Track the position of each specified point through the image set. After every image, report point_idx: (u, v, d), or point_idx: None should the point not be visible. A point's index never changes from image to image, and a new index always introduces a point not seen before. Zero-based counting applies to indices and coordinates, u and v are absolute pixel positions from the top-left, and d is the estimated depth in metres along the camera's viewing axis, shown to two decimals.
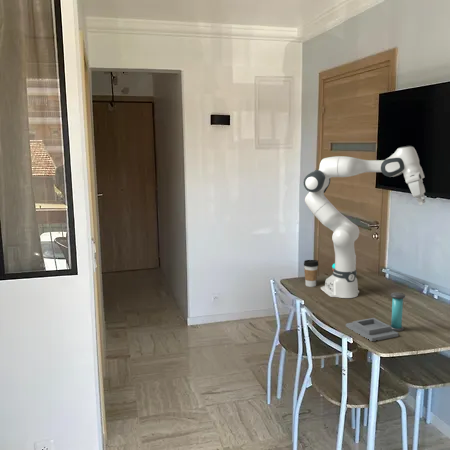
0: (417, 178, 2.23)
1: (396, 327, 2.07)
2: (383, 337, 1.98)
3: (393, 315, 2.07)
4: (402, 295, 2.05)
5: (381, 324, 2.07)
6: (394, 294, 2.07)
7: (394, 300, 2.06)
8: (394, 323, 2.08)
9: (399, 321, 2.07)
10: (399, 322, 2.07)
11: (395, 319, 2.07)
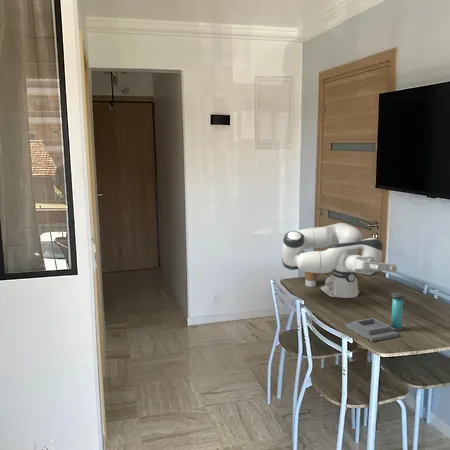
0: (354, 259, 2.20)
1: (396, 327, 2.07)
2: (383, 337, 1.98)
3: (393, 315, 2.07)
4: (402, 295, 2.05)
5: (381, 324, 2.07)
6: (394, 294, 2.07)
7: (394, 300, 2.06)
8: (394, 323, 2.08)
9: (399, 321, 2.07)
10: (399, 322, 2.07)
11: (395, 319, 2.07)
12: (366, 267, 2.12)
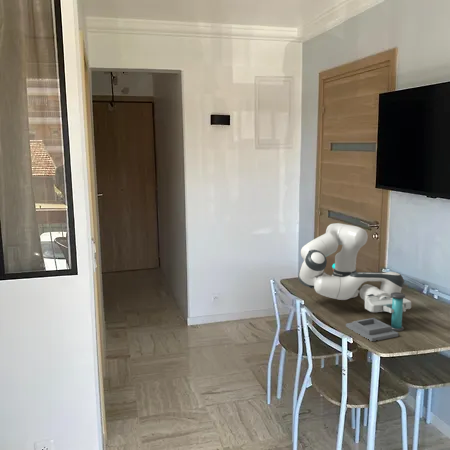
0: (365, 298, 2.18)
1: (396, 327, 2.07)
2: (383, 337, 1.98)
3: (393, 315, 2.07)
4: (402, 295, 2.05)
5: (381, 324, 2.07)
6: (394, 294, 2.07)
7: (394, 300, 2.06)
8: (394, 322, 2.08)
9: (399, 321, 2.07)
10: (399, 322, 2.07)
11: (395, 319, 2.07)
12: (376, 310, 2.10)
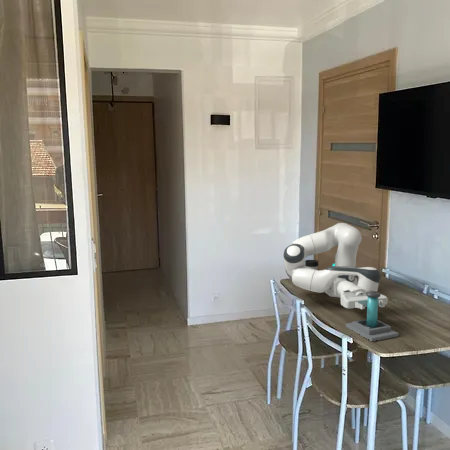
0: (341, 294, 2.15)
1: (371, 326, 2.05)
2: (383, 337, 1.98)
3: (368, 314, 2.05)
4: (377, 294, 2.03)
5: (381, 324, 2.07)
6: (369, 293, 2.04)
7: (369, 299, 2.04)
8: (369, 322, 2.05)
9: (374, 320, 2.04)
10: (374, 321, 2.04)
11: (370, 318, 2.04)
12: (351, 306, 2.07)
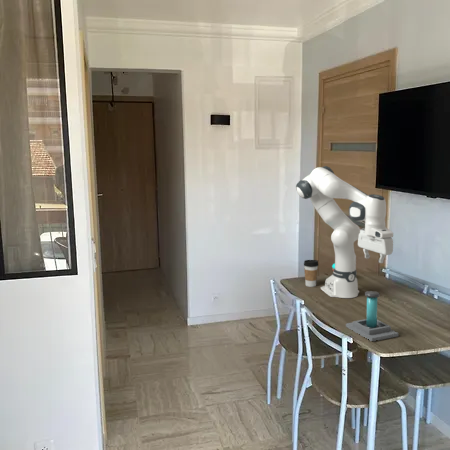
0: (392, 235, 2.05)
1: (371, 326, 2.05)
2: (383, 337, 1.98)
3: (368, 314, 2.05)
4: (376, 294, 2.03)
5: (381, 324, 2.07)
6: (368, 293, 2.04)
7: (368, 299, 2.03)
8: (369, 322, 2.05)
9: (374, 320, 2.04)
10: (374, 321, 2.04)
11: (370, 318, 2.04)
12: None
